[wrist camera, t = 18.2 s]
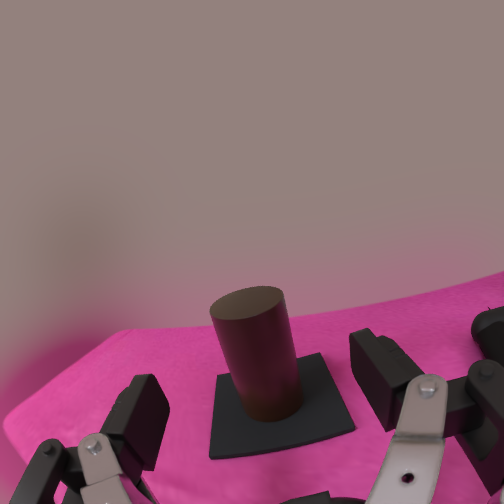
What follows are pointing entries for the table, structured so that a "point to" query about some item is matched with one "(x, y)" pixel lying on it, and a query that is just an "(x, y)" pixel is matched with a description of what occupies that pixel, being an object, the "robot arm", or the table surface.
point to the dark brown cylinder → (259, 351)
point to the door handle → (490, 333)
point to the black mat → (284, 431)
